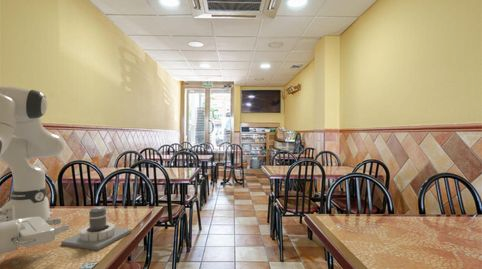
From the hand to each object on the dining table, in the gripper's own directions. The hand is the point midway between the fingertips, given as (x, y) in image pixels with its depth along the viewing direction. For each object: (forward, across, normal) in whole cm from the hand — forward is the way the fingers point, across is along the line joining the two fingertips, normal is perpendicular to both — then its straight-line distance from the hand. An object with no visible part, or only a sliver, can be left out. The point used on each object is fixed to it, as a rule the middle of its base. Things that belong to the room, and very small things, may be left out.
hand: (64, 223), depth 87 cm
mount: (+11, 0, +8) cm, 14 cm away
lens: (+11, 0, +7) cm, 13 cm away
